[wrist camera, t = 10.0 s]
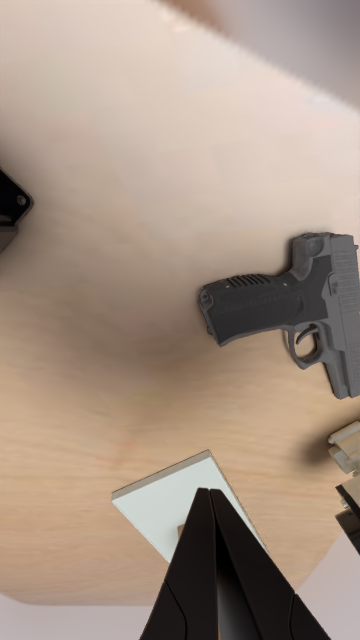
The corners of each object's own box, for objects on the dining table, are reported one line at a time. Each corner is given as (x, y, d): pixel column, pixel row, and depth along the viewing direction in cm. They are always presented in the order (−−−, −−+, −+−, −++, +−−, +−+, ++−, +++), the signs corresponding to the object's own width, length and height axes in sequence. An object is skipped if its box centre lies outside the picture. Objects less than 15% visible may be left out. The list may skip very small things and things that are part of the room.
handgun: (260, 446, 23) (383, 395, 22) (193, 300, 16) (370, 216, 15) (247, 419, 25) (355, 373, 25) (185, 286, 18) (333, 215, 18)
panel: (112, 493, 25) (104, 550, 20) (208, 449, 24) (222, 499, 20) (198, 586, 33) (205, 642, 29) (270, 556, 33) (290, 607, 28)
